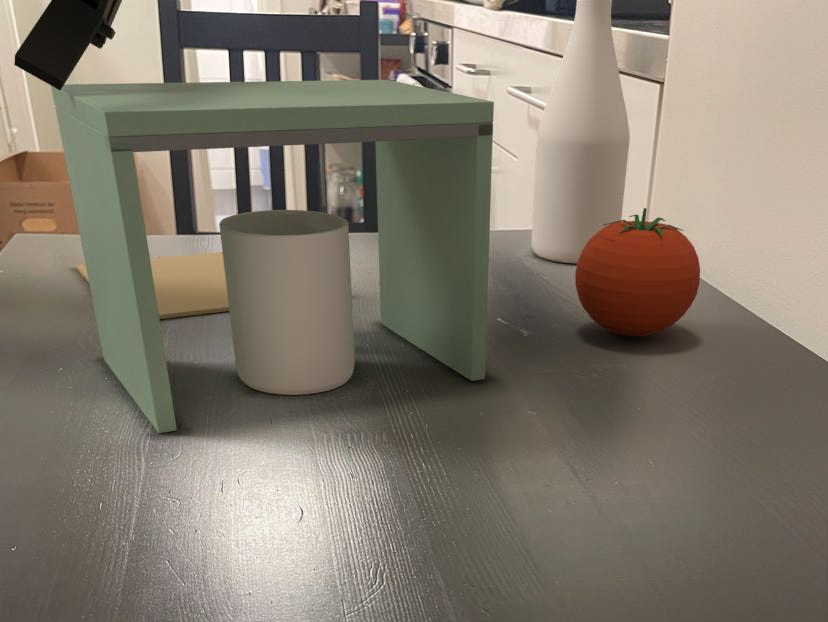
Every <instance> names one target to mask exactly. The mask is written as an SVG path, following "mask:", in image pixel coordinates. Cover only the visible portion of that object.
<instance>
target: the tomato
mask: <svg viewBox="0 0 828 622" xmlns="http://www.w3.org/2000/svg"><path fill="white" fill-rule="evenodd" d="M632 217H634V220H626V219H621V220H620V221H616V222H612V223H608V224H610V225H608V226H606V227H604V228H603V229H601V230H600V231H599V232H597V233H596V234H595V235H594V236H593V237H592V238H590V239H589V241H588V242H587V244H586V245H585V247H584V248H583V250H582V252H581V255H580V257H579V259H578V262H577V263H576V267H575V273H574V278H575V279H574V283H575V289H576V293H577V297H578V300H579V302H580V304H581V306H582V309H583V310H584V311H585V312H586V313H587V315H588V316H589V318H591V320H592V321H594V322H595V323H597V324H598V325H599V326H600V327H602V328H603V329H605V330H606V331H609V332H611V333H614V334H617V335H619V336H626V337H645V336H649V335H652V334H656V333H660V332H663V331H664V330H666V329H668V328H670V327H672V326H673V325H675V324H676V323H677V322H678V321H679V320H681V319H682V318H683V317H684V315H685V314H686V313H687V311H689V309H690V308H691V307H692V306H693V303H694V301H695V299H696V297H697V294H698V291H699V287H700V281H701V265H700V259H699V256H698V254H697V250H696V249H695V246H694V245H693V244H692V242H691V241H690V239H688V237H687V236H686V235H685V234H683V233H682V232H684V231H685V230H684V229H681V228H679V227H676V226H674V225H671V224H667V223H661V221H663V222H666V220H665V219H664V218H662V217H656V218H655V219H654V220H652V221H646V217H647V207H644V208H643V209H642V215H641V220H640V215H639V214H632V215H629V218H632ZM603 225H607V224H603ZM681 231H682V232H681Z"/></svg>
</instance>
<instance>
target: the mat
mask: <svg viewBox="0 0 828 622" xmlns="http://www.w3.org/2000/svg"><path fill="white" fill-rule="evenodd" d="M150 262H151V268H152V274H153V281H154V287H155V294H156V300H157V306H158V313H159V319H160V320H165V319H173V318H182V317H190V316H198V315H199V316H200V315H208V314H216V313H227V312H229V303H228V295H227V286H226V278H225V269H224V261H223V252H222V251H218V252H217V251H216V252H208V253H196V254H185V255H184V254H183V255H174V256H162V257H153V258H151V257H150ZM75 266H76V270H77V271H78V273H79V274H81V276H82V277H83V278H84V279H85V280H86V281H87V283H89V279H88V274H87V269H86V264H76V265H75Z"/></svg>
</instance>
